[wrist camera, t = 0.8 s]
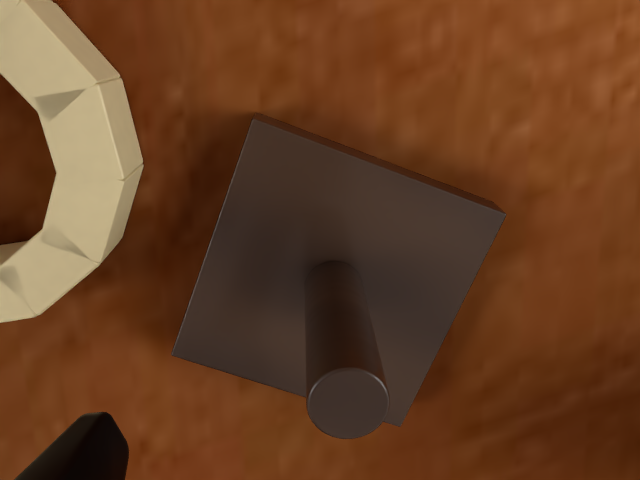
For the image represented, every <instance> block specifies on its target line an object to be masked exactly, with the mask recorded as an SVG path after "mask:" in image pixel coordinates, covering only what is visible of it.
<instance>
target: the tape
mask: <svg viewBox="0 0 640 480" xmlns="http://www.w3.org/2000/svg"><path fill="white" fill-rule="evenodd" d="M0 73H1V74H2V76H3V77H4V78H5V79H6V80H7V81H8V82H9V83H10V84H11V85H12V86H13V87H14V88H15V89H16V90H17V91H18V92H19V93H20V94H21V95H22V96H23V97H24V98H25V99H26V101H27V102H28V103H29V104H30V105H31V106H32V107H33V108H34V109H35V110H36V111H37V112H38V115H39V118H40V121H41V124H42V128H43V131H44V134H45V137H46V141H47V144H48V147H49V150H50V154H51V157H52V160H53V163H54V167H55V170H56V177H55V181H54V185H53V189H52V193H51V197H50V201H49V205H48V209H47V213H46V217H45V221H44V225H43V229H42V230H40V231H39V232H38V233H37V234H36V235H35V236H34V237H32V238H31V239H30V240H29V241H24V242H17V243H11V244H5V245H0V323H2V322H8V321H14V320H21V319H27V318H33V317H36V316H37V315H41V314H42V313H43V312H44V311H45V310H47V309H48V308H49V307H50V306H51V305H53V304H54V303H55V302H56V301H57V300H59V299H60V298H61V297H62V296H63V295H65V294H66V293H67V292H68V291H69V290H71V289H72V288H73V287H74V286H75V285H77V284H78V283H79V282H80V281H81V280H83V279H84V278H85V277H86V276H87V275H89V274H90V273H91V272H92V271H93V270H94V269H96V268H97V267H98V266H99V265H100V264H101V263H102V262H103V260H104V259H105V258H106V257H107V256H108V255H109V253H110V252H111V251H112V250H113V249H114V247H115V246H116V245H117V244H118V243H119V241H120V240H121V239H122V237H123V234H124V230H125V227H126V224H127V220H128V217H129V214H130V210H131V207H132V203H133V200H134V197H135V193H136V190H137V187H138V183H139V180H140V176H141V173H142V170H143V166H144V165H143V164H142V163H143V158H142V154H141V150H140V147H139V143H138V139H137V135H136V131H135V127H134V123H133V119H132V116H131V112H130V108H129V104H128V100H127V96H126V92H125V88H124V84H123V81H122V79H121V78H119V77H120V74H119V73H118V72H117V71H116V70H115V69H114V68H113V66H112V65H111V64H110V63H109V62H108V61H107V60H106V59H105V57H104V56H103V55H102V54H101V53H100V52H99V51H98V50H97V49H96V47H95V46H94V45H93V44H92V43H91V42H90V41H89V40H88V38H87V37H86V36H85V35H84V34H83V33H82V32H81V31H80V30H79V28H78V27H77V26H76V25H75V24H74V23H73V22H72V21H71V19H70V18H69V17H68V16H67V15H66V14H65V13H64V12H63V11H62V9H61V8H60V7H59V6H58V5H57V4H56V3H53V1H52V0H0Z"/></svg>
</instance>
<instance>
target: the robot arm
mask: <svg viewBox="0 0 640 480" xmlns="http://www.w3.org/2000/svg"><path fill="white" fill-rule="evenodd" d="M128 458H129V448H128V444H127V441H126V439H125V438H124V436H123V434H122V433H121V431H120V429H119V428H118V426H117V424H116V423H115V421H114V419H113V418H112V416H111V415H110V414H108V413H107V412H97V413H87V414H84V415H82V416H80V417H79V418H78V419H77V420H76V421H75V422H74V423H73V424H72V425H71V426H70V427H69V428H68V429H66V430H65V431H64V432H63V433H62V434H61V435H60V436H59V437H58V438H57V439H56V440H55V441H54V442H53V443H52V444H51V445H50V446H49V447H48V448H47V449H46V450H45V451H44V452H43V453H41V454H40V455H39V456H38V457H37V458H36V459H35V460H34V461H33V462H32V463H31V464H30V465H29V466H28V467H27V468H26V469H25V470H24V471H23V472H22V473H21V474H20V475H19V476H18V477H16V478H15V479H14V480H125V476H126V470H127V464H128Z"/></svg>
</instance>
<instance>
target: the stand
mask: <svg viewBox="0 0 640 480" xmlns="http://www.w3.org/2000/svg"><path fill="white" fill-rule="evenodd" d="M505 217H506V213H505V212H504V211H502V210H501V209H500V208H499V207H498V206H497V205H496V204H495V203H494V202H492V201H489V200H486V199H484V198H481V197H478V196H476V195H473V194H470V193H468V192H465V191H463V190H460V189H457V188H455V187H452V186H449V185H447V184H444V183H441V182H439V181H436V180H434V179H431V178H428V177H426V176H423V175H420V174H418V173H415V172H413V171H410V170H407V169H405V168H402V167H399V166H397V165H394V164H391V163H389V162H386V161H384V160H381V159H378V158H376V157H373V156H370V155H368V154H365V153H363V152H360V151H357V150H355V149H352V148H349V147H347V146H344V145H341V144H339V143H336V142H334V141H331V140H328V139H326V138H323V137H320V136H318V135H315V134H313V133H310V132H307V131H305V130H302V129H299V128H297V127H294V126H291V125H289V124H286V123H284V122H281V121H278V120H276V119H273V118H270V117H268V116H265V115H262V114H260V113H255V115H254V117H253V119H252V121H251V124H250V127H249V130H248V133H247V136H246V138H245V141H244V144H243V147H242V150H241V153H240V156H239V159H238V162H237V165H236V167H235V170H234V173H233V176H232V179H231V182H230V185H229V188H228V191H227V194H226V196H225V199H224V202H223V205H222V208H221V211H220V214H219V217H218V220H217V222H216V225H215V228H214V231H213V234H212V237H211V240H210V243H209V246H208V249H207V251H206V254H205V257H204V260H203V263H202V266H201V269H200V272H199V275H198V278H197V280H196V283H195V286H194V289H193V292H192V295H191V298H190V301H189V304H188V307H187V309H186V312H185V315H184V318H183V321H182V324H181V327H180V330H179V333H178V336H177V338H176V341H175V344H174V347H173V350H172V353H171V355H172V356H175V357H178V358H182V359H185V360H188V361H191V362H194V363H198V364H201V365H204V366H207V367H210V368H214V369H217V370H220V371H223V372H226V373H230V374H233V375H236V376H239V377H242V378H246V379H249V380H252V381H255V382H258V383H262V384H265V385H268V386H271V387H274V388H278V389H281V390H284V391H287V392H290V393H294V394H297V395H300V396H303V397H306V405H307V411H308V414H309V417H310V419H311V420H312V422H313V423H314V424H315V426H316V427H317V428H318V429H320V430H321V431H322V432H324V433H326V434H327V435H330V436H332V437H336V438H341V439H353V438H358V437H362V436H365V435H367V434H369V433H371V432H372V431H374V430H375V429H376V428H378V427H379V426H380V425H381V423H382V422H386V423H390V424H393V425H396V426H399V427H400V426H401V424H402V422H403V420H404V418H405V416H406V414H407V412H408V410H409V408H410V406H411V404H412V402H413V400H414V398H415V396H416V394H417V392H418V390H419V388H420V386H421V384H422V382H423V380H424V378H425V376H426V374H427V372H428V370H429V368H430V366H431V364H432V362H433V360H434V358H435V356H436V354H437V352H438V350H439V348H440V346H441V344H442V342H443V340H444V338H445V336H446V334H447V332H448V330H449V328H450V326H451V324H452V322H453V321H454V319H455V317H456V315H457V313H458V311H459V309H460V307H461V305H462V303H463V301H464V299H465V297H466V295H467V293H468V291H469V289H470V287H471V285H472V283H473V281H474V279H475V277H476V275H477V273H478V271H479V269H480V267H481V265H482V263H483V261H484V259H485V257H486V255H487V253H488V251H489V249H490V247H491V245H492V243H493V241H494V239H495V237H496V235H497V233H498V231H499V229H500V227H501V225H502V223H503V221H504V219H505Z"/></svg>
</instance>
